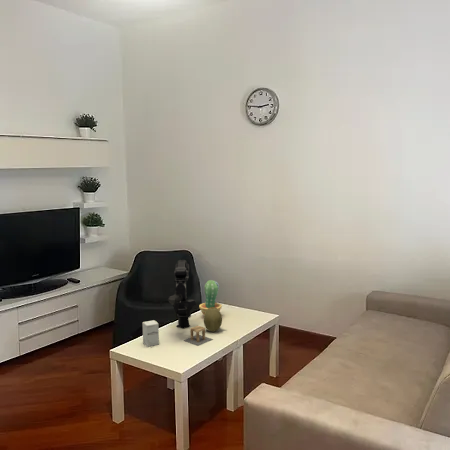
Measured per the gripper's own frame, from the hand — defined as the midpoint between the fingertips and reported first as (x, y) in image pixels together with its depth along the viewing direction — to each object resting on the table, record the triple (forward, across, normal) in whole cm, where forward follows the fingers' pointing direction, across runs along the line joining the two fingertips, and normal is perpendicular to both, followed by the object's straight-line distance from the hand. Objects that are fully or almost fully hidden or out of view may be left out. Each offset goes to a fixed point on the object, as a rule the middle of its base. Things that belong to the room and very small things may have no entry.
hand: (182, 314), depth 281 cm
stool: (+13, +12, +1) cm, 17 cm away
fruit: (+13, +8, +18) cm, 24 cm away
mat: (+13, +12, +1) cm, 18 cm away
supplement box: (+13, -5, -20) cm, 25 cm away
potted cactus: (+13, -11, +36) cm, 40 cm away
